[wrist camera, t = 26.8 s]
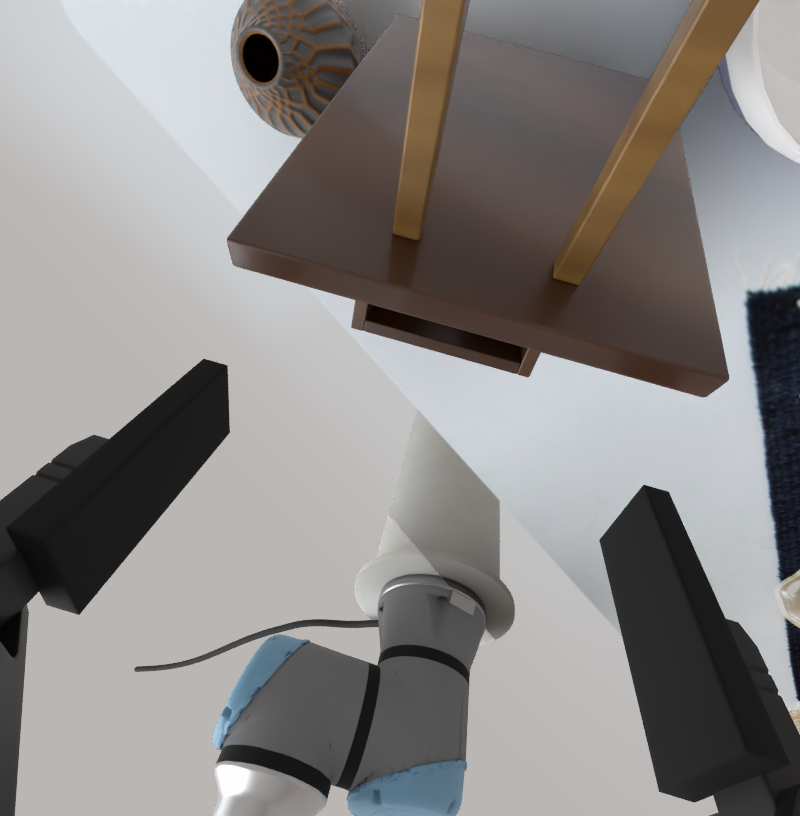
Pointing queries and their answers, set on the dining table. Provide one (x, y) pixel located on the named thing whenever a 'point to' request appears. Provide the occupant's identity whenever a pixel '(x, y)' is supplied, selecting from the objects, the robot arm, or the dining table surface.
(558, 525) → the dining table surface
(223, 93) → the dining table surface
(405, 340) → the chest
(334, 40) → the vase
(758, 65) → the bowl
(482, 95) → the lid
